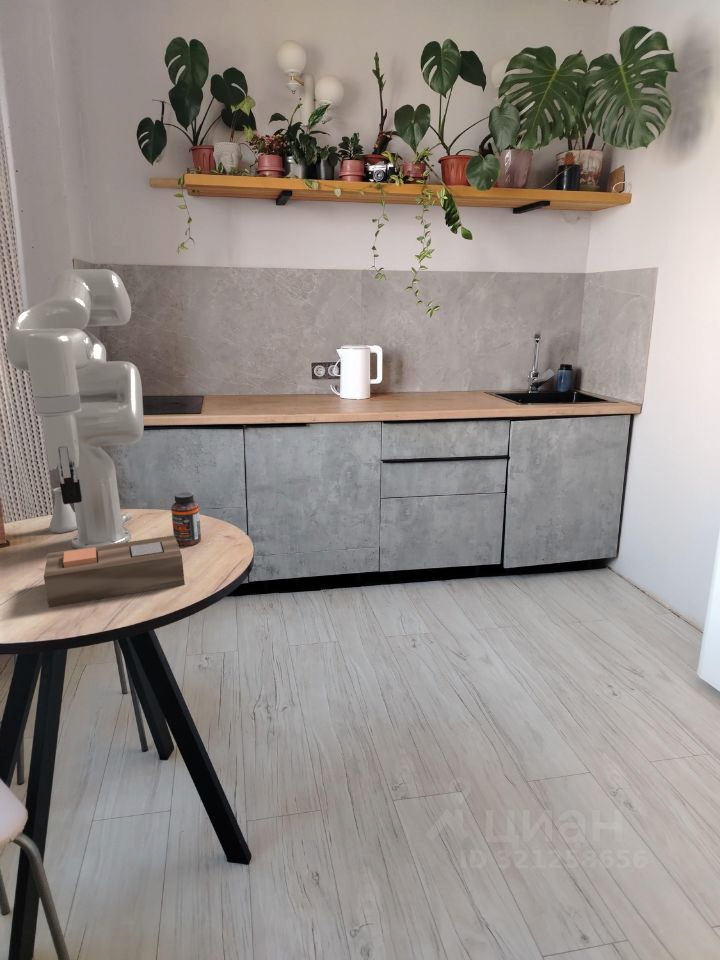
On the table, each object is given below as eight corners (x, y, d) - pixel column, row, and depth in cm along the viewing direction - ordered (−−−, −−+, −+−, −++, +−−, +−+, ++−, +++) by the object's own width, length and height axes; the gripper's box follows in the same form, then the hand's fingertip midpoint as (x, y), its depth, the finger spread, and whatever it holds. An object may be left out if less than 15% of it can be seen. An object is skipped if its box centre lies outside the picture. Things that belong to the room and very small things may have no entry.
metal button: (133, 569, 134) (130, 546, 132) (162, 565, 135) (159, 542, 134) (135, 580, 129) (132, 556, 127) (165, 575, 130) (162, 551, 129)
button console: (52, 581, 131) (47, 553, 130) (177, 562, 140) (174, 535, 138) (48, 607, 121) (43, 576, 119) (184, 584, 129) (181, 555, 127)
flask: (72, 521, 167) (66, 483, 164) (87, 527, 162) (82, 487, 160) (43, 529, 161) (37, 490, 159) (58, 535, 157) (52, 495, 154)
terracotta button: (67, 575, 129) (64, 551, 128) (98, 571, 131) (95, 547, 130) (67, 587, 124) (63, 562, 123) (99, 582, 126) (95, 557, 125)
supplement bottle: (170, 546, 149) (165, 497, 145) (180, 537, 154) (175, 490, 151) (196, 547, 148) (191, 498, 145) (205, 537, 154) (201, 490, 150)
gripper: (37, 398, 124) (52, 493, 129) (31, 413, 111) (48, 517, 116) (80, 395, 126) (93, 488, 132) (80, 409, 113) (94, 511, 119)
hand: (72, 501), depth 124 cm, fingers closed
